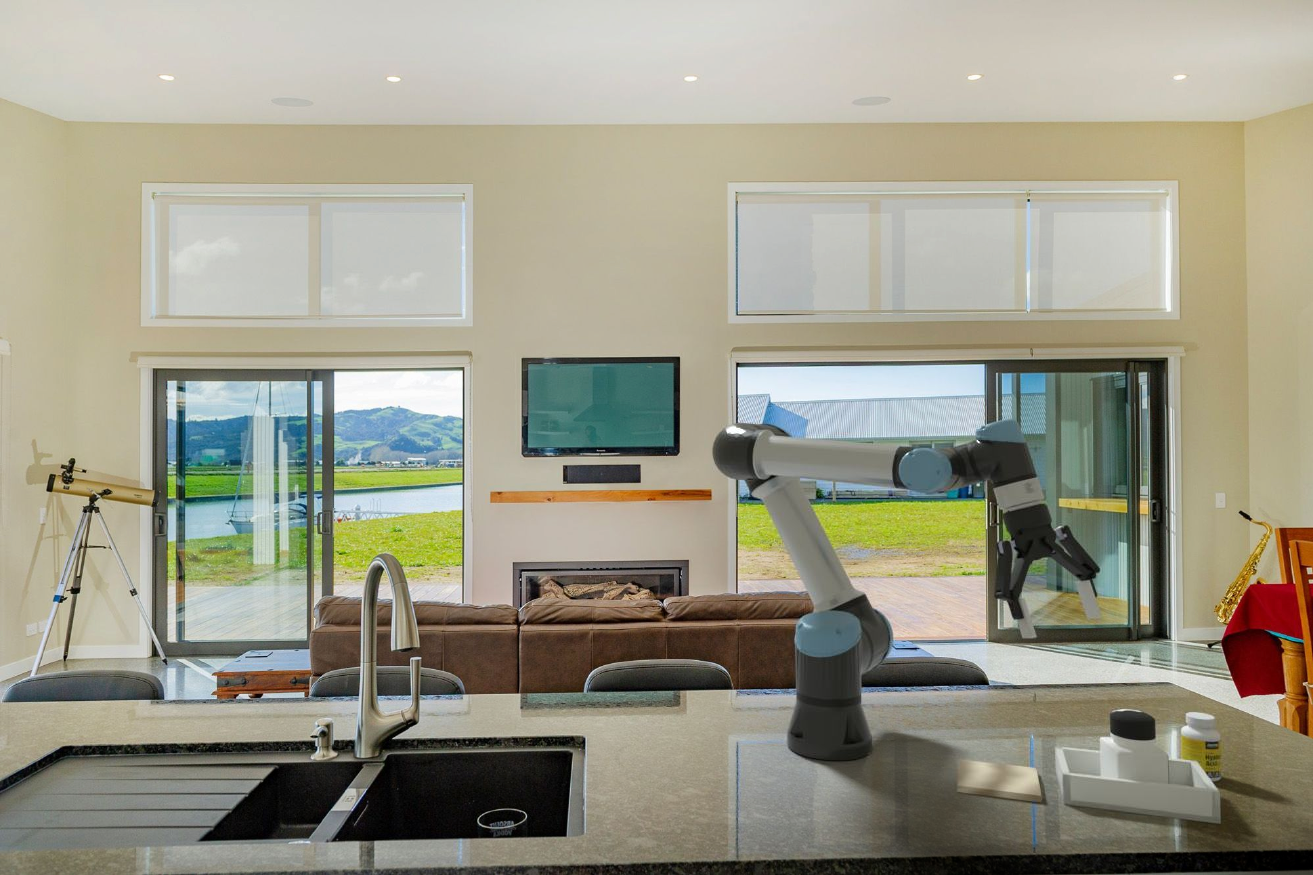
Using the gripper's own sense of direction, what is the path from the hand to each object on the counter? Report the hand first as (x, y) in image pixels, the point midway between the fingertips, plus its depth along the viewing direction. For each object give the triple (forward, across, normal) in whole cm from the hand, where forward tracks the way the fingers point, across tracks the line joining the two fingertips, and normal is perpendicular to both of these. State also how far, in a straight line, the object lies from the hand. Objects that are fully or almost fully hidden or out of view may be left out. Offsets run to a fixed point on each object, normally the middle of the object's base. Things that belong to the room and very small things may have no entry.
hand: (1062, 628), depth 140 cm
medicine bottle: (+24, -4, -9) cm, 26 cm away
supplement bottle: (+28, +13, -5) cm, 31 cm away
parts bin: (+25, -4, -9) cm, 27 cm away
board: (+20, -20, +1) cm, 28 cm away
